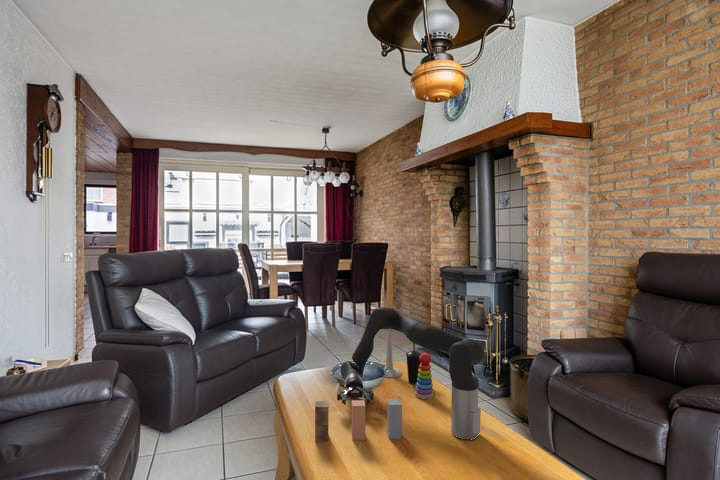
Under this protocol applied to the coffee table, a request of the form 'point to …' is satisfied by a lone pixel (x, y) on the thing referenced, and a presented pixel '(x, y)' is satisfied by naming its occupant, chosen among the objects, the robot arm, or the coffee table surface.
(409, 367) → the drinking cup
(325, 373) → the coffee table surface
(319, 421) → the pillar walnut
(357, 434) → the pillar terracotta
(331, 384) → the coffee table surface
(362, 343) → the robot arm
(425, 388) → the stacking toy
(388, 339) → the candlestick
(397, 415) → the pillar slate
